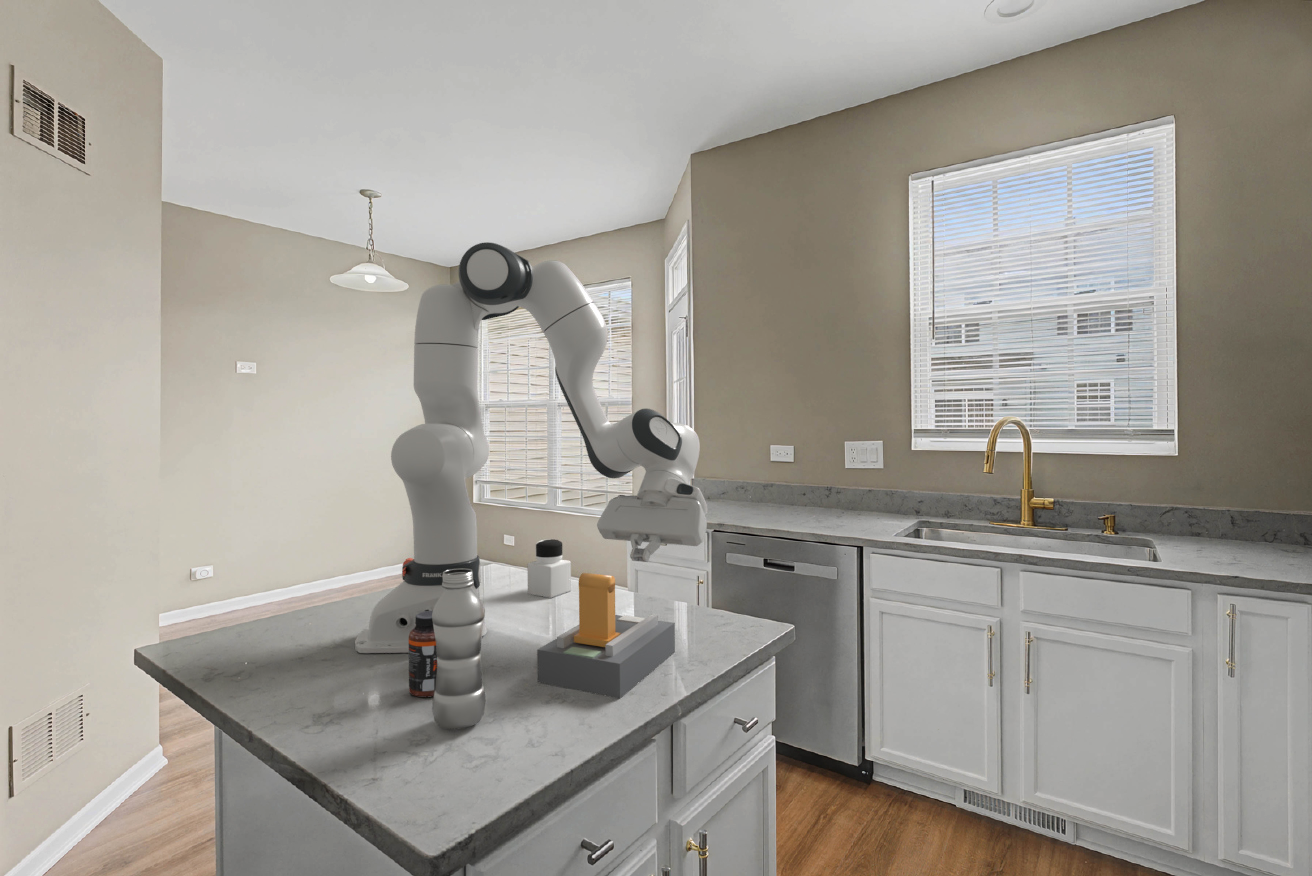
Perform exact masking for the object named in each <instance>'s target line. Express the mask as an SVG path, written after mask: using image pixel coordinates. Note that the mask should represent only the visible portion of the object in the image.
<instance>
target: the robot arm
mask: <svg viewBox="0 0 1312 876" xmlns="http://www.w3.org/2000/svg"><path fill="white" fill-rule="evenodd" d="M519 308H523V309H524V310H525V311H527V312H528V313H529V314H530V315H532V317H533V318H534V319H535V321H536V322H537V324H538V326H539V327H540V328H539V329H541V331H542V333H543V334H544V336H545V338H546V340H547V342H548V344H549V346H550V348H551V351H552V355H553V358H554V362H555V368H554V369H555V370H554V371H555V376H556V380H557V382H558V385H559V387H560V390H561V392H562V394H563V397H564V399H565V402H566V403H567V406H568V408H569V409H570V412H571V414H572V417H573V419H574V421H575V422H576V425H577V427H578V429H579V431H580V434H581V436H582V438H583V441H584V445H585V448H586V453H587V456H588V459H589V462H590V464H591V465H592V467H593V468H594V470H596V471H597V472H598V473H599V474H600V475H602V476H604V477H606V478H609V479H620V478H623V477H624V476H626V475H627V474H629V473H630V472H632V471H634V470H635V469H637V468H639V467H642V468H643V469H644V471H645V473H644V476H643V479H642V482H641V484H640V486H639V489H638V492H637V494H636V495H625V494H620V495H617V496H616V497H613V498H611V499H610V500H609V501H608V503H607V506H606V507H605V509H604V510H603V511H602V514H601V515H600V517H599V518H598V522H597V523H596V527H597V530H598V533H599V534H600V536H601V537H602V538H603V539H605V540H611V541H612V540H613V541H614V540H616V541H624V542H626V541H627V542H630V544H631V552H630V553H629V555H630V556H629V557H630V560H631V562H632V561H633V562H642V563H648V562H649V561H650V558H651V555H653V554H654V553H655V552H656V551H657V550H659V549H660V547H661V545H662V544H664V545H675V546H688V547H689V546H690V547H699V546H700V545H701V544H702V543H703V542H704V540H705V537H706V533H707V527H708V526H707V525H708V520H707V517H706V516H707V514H708V511H709V510H708V509H709V508H708V505H707V502H706V499H705V496H704V495H703V493H702V491H701V489H700V488H699V487H697V486H695V485H692V484H690V481H691V480H692V478H693V477H694V475H695V471H696V469H697V465H698V462H699V458H700V457H699V456H700V450H701V447H700V446H701V444H700V438H699V435H698V434H697V432H696V431H695V430H694V429H693V428H691V427H690V426H689V425H687V424H684V423H683V422H682V423H681V422H671V421H669V419H667V417H665V416H664V415H662V414H661V413H659V412H658V411H656V410H654V409H651V408H640V409H639V410H637V411H634V412H632V413H630V414H629V415H627V416H625V417H623V418H622V419H621V420H619V421H617V422H615V423H613V424H612V423H611V421H609V419H608V418H607V414H606V413H605V411H604V408H603V406H602V404H601V401H600V399H599V398H598V395H597V392H596V390H595V387H594V382H593V381H594V380H593V379H594V373H595V370H596V367H597V364H598V363H599V362H600V361H599V360H600V359H601V358H602V356H603V354H604V352H605V349H606V347H607V344H608V336H609V331H608V327H607V323H606V321H605V318H604V316H603V314H602V313H601V311H600V309H599V308H598V306H597V304H596V303H595V301H594V300H593V298H592V296H591V295H590V293H589V291H587V289H586V288H585V286H584V285H583V284H582V282H581V281H580V280H579V279H578V277H577V276H576V275H575V274H574V272H573V271H572V270H571V269H570V268H569V267H568V265H567V264H565V263H564V262H562V261H559V260H545V261H542V262H539V263H538V264H536V265H533V266H532V265H531V262H530V261H529V260H528V259H526V258H524V257H522V256H520V255H519V254H518V253H516V252H514V251H512V250H511V249H509V248H507V247H505V246H503V245H501V244H498V243H494V242H480V243H477V244H475V245H472V246H470V248H468V249H467V250H466V251H465V252H464V253H463V255H462V257H461V260H460V261H459V265H458V281H457V282H455V283H453V284H452V283H451V284H437V285H434V286H431V287H428V288H427V289H426V290H425V291H423V293H422V294H421V296H420V299H419V304H418V309H417V314H416V320H415V329H414V343H413V345H414V347H413V350H414V351H413V352H414V353H413V389H414V392H415V394H416V396H417V397H418V399H419V402H420V405H421V409H422V414H423V419H424V423H422V424H418V425H416V426H414V427H412V428H410V429H408V430H406V431H404V432H403V433H401V434H400V435H399V436H398V437H397V438H396V440H395V441H394V443H393V445H392V448H391V452H390V460H391V465H392V468H393V470H394V472H395V473H396V475H397V476H398V478H400V479H401V481H402V482H403V485H404V488H405V489H404V490H405V492H406V496H407V499H408V502H409V503H408V504H409V506H410V512H411V516H412V525H413V530H412V531H413V558H411V557H408V558H406V559H405V560H404V562H403V563H402V568H401V569H402V570H401V573H402V574H401V577H402V580H403V581H402V582H401V583H400V584H398V585H397V586H396V587H395V588H394V589H392V590H391V591H389V592H388V593H387V594H386V595H384V597H382V598H381V599H380V600H379V601H378V602H377V603H376V604H375V606H374V607H373V609H372V611H371V615H370V618H369V622H368V623H369V624H368V627H366V628H364V629H363V630H362V631H361V632H360V633H358V635H357V636H356V638H355V641H354V649H355V651H356V652H358V653H360V654H384V653H385V654H387V653H389V654H391V653H393V654H397V653H398V654H399V653H404V654H405V653H409V633H410V632H411V630H413V629H414V628H415V626H416V624H415V622H416V621H415V620H416V618H415V617H416V615H417V614H418V613H421V612H425V611H433V609H434V607H435V605H436V603H437V601H438V600H439V598H440V597H441V595H442V594H443V592H444V590H445V588H443V587H442V582H443V572H444V571H447V570H451V569H471V570H472V572H473V581H474V585H473V586H471V587H472V590H473V591H474V592H475V593H476V594H477V595H478V597H479V598H480V599H481V596H480V586H481V574H482V573H481V561H480V556H479V555H478V526H477V524H478V521H477V514H476V511H475V510H474V508H473V507H472V506H473V505H472V504H471V500H470V496H469V492H468V488H467V482H466V479H469V478H472V477H474V475H476V474H477V473H478V472H479V471H480V470H481V469H482V468H483V467H484V466H485V464H486V463H487V461H488V459H489V456H490V445H489V442H488V440H487V437H486V436H485V432H484V425H483V419H482V413H481V407H480V403H479V402H480V401H479V393H478V392H479V391H478V375H479V374H478V371H479V370H478V364H479V362H478V361H479V359H478V357H479V354H478V353H479V327H480V324H481V321H486V320H489V319H494V318H498V317H502V316H504V317H505V316H507V315H509V314H511V313H513V312H515V311H516V310H518V309H519ZM642 543H648V544H647V545H646V546H645V547H644V548H639V547H641V546H642ZM487 632H488V626H487V624H486V621H485V619H484V624H483V631H482V637H483V636H485V635H486V634H487Z"/></svg>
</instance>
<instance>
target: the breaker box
mask: <svg viewBox="0 0 1312 876" xmlns="http://www.w3.org/2000/svg"><path fill="white" fill-rule="evenodd" d="M675 626H676V625H675V622H673V621H665V620H659V615H658V614H649V616H647V617H641V616H640V617H639V616H630V615H621V614H615V632H617V633H621V635H619V636H618V637H616V638H615V639H613V640H612V641H610V642H609V643H607V644H606V645H605V647H600V646H594V645H588V644H581V643H575V642H574V635H576V634H578V633H579V624H578V625H576V626H574V627H572V628H570V629H568V630H567V631H565V632H563V633H562V634H559V635H558V636H556V638H555V639H554V640H552V641H550V642H548V643H547V644H544V645H543V646H541V647H539V648H537V650H536V651H537V652H536V653H537V654H536V655H537V657H536V661H537V664H536V665H537V670H536V671H537V683H539V684H544V685H548V686H549V685H550V686H555V687H559V688H564V689H568V690H569V689H570V690H574V691H580V692H584V691H585V693H589V692H590V693H589V694H595V693H596V694H595V695H599V696H604V695H606V696H605V697H609V696H611V697H610V698H614V697H615V698H614V699H621V698H622V697H624V696H625V695H626V694H627V693H629V692H630V691H631V690H633V688H634V687H635V686H637V685H638V684H639V683H641V681H642V679H643V678H644V679H645V678H647V676H649V674H651V673H652V672H653V671H654V670H655V669H657V668H658V667H659V666H660V665H662V664H663V663H664V662H665V661H666V660H667V659H669V658H670V657H671V656H672V655H674V653H675V652H676V633H675V632H676V627H675ZM644 679H643V680H644ZM638 682H639V683H638ZM637 683H638V684H637Z"/></svg>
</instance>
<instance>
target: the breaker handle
mask: <svg viewBox="0 0 1312 876" xmlns="http://www.w3.org/2000/svg"><path fill="white" fill-rule="evenodd" d="M615 615H616V578H615V576H614V575H607V574H598V573H589V572H581V574H580V576H579V578H578V619H579V620H578V621H579V622H578V623H579V624H578V625H579V633H578V634H576V635H574V642H575V643H581V644H588V645H594V646H600V647H605V645H606V644H607V643H609V642H610V641H612V640H613V639H615V638H616V637H618V636H619V635H621V633H617V632H615Z"/></svg>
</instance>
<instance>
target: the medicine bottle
mask: <svg viewBox="0 0 1312 876" xmlns="http://www.w3.org/2000/svg"><path fill="white" fill-rule="evenodd" d="M535 559H536V560H534V561H532V562H528V563H527V594H528V595H531V594H532V596H537V597H542V596H543V598H547V597H548V598H547V599H552V597H553V598H555V596H556V597H558V596H561V595H564V594H567V593H570V592H571V591H572V566H571V564H572V563H571V561H570V560H568V559H567V560H566V559H563V542H562V541H560V540H559V539H552V538H549V539H548V538H547V539H542V540H539V541H536V543H535ZM569 579H571V580H569ZM566 592H567V593H566Z"/></svg>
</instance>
